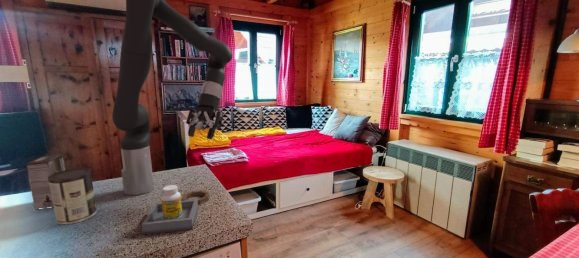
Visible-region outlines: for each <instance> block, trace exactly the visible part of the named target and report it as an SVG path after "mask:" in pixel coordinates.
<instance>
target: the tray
mask: <svg viewBox="0 0 579 258" xmlns="http://www.w3.org/2000/svg"><path fill="white" fill-rule="evenodd" d="M198 199H199V198H197V199H188V200H185V201H182V200H181V204H182V217H181V218H179V219H174V220H164V218H163V210H162V202H155V203H154V204H153V206H152V207H151V209H150V211H149V213H148V214H147V216H146V217H145V218H144V220H143V222H142V224H141V228H142V235H143V236H144V235H150V234H153V235H154V234H159V233H169V232H178V231H179V232H180V231H186V230H193V229H194V226H195V221H196V217H197V214H198V210H199V205H198Z"/></svg>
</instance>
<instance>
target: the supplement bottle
mask: <svg viewBox="0 0 579 258" xmlns="http://www.w3.org/2000/svg"><path fill="white" fill-rule="evenodd" d="M162 193H163V194H162V195H161V198H160V199H161V203H162V210H163V218H164V220H174V219H179V218H181V217H182V204H181V201H182V194H181V193H180V192H179V191H178V185H176V184H170V185H169V184H168V185H166V186H164V187H162Z"/></svg>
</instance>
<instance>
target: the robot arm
mask: <svg viewBox="0 0 579 258" xmlns="http://www.w3.org/2000/svg"><path fill="white" fill-rule="evenodd" d="M153 17H154V18H155V19H157V20H158V21H160V22H162V23H163V24H164V25H166V26H167V27H169V28H170V29H171V30H172V31H173V32H175V34H177V35H178V36H179V37H181V38H182V40H184V41H185V42H186V43H188V44H189V45H191V47H193V48H195V49H196V50H197V51H199V52H206V53H208V54H209V57H208V60H207V66H206V68H207V69H206V70H207V71H206V74H205V77H204V82H203V83H202V86H201V90H200V94H199V97H198V100H197V109H194V108H189V111H188V114H187V118H186V121H185V123H186V124H187V125H188V126H189V128H188V131H187V135H188V137H191V138H193V137H194V136H195V132H196V129H197V126H198V125H200V124H201V123H206V124H208V126H209V128H208V131H207V135H206V139H208V140H212V139H213V138H214V137H215V132H216V130H218V129H222V124H223V120H224V113H223V112H222V111H220V110H218V109H219V106H220V103H221V99H222V98H221V97H222V93H223V87H224V85H225V84H224V83H225V79H226V74H225V67H226V65H227V64H228V63H230V62H231V61H232V59H233V52H232V50H231V48H230V47H229V46H228V45H227V44H225V43H224V42H222V41H221V40H219V39H217V38H215V37H213V36H211V35H209V34H208V33H207V32H206V31H205V30H203V29H202V28H201V27H200V26H198V25H197V24H196V23H195V22H194V21H192V20H190V19H189V18H187V17H186V16H184V15H183V14H181V13H179V12H178V11H177V10H175V9H174V8H173V7H172V6H171V5H170V4H168V3H167V2H166V0H125V22H124V23H125V24H124V27H123V28H124V29H123V35H122V39H121V47H120V58H119V69H118V70H119V71H118V80H117V89H116V95H115V100H114V104H113V108H112V114H111V115H112V116H111V117H112V122H113V124H114V126H115V127H116V128H117V129H118V130H120V131H123V132H125V133H124V135H123V137H122V138H121V140H120V143H119V144H120V152H121V159H122V160H121V161H122V168H121V170H120V171H121V179H122V186H123V194H124V195H128V196H139V195H144V194H148V193H149V192H152V191H154V188H155V186H154V176H153V167H152V166H153V165H152V157H151V149H150V139H151V121H150V120H151V119H150V113H149V111H148V109H147V108H146V107H145V105H143V104H142V103H140V94H141V92H142V91H141V90H142V88H143V87H144V84H145V82H146V80H147V78H148V76H149V74H150V70H151V65H152V55H153V43H152V42H153V41H152V20H153Z"/></svg>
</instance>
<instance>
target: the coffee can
mask: <svg viewBox="0 0 579 258" xmlns="http://www.w3.org/2000/svg"><path fill="white" fill-rule="evenodd" d="M48 181H49V185H50V191H51V196H52V201H53V206H54V208H53V211H54V216H55V222H57V223H56V224H58V223H59V224H58V225H63V224H66V225H73V223H74V224H77V223H80V222H85V221H86V220H88V219H90V218H92V217H94V216H96V215H97V213H98V209H97V204H96V202H97V201H96V198H95V191H94V183H93V177H92V169H91V168H87V167H78V168H71V169H66V170H64V171H60V172H57V173H54V174H52V175H50V176H48Z"/></svg>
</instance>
